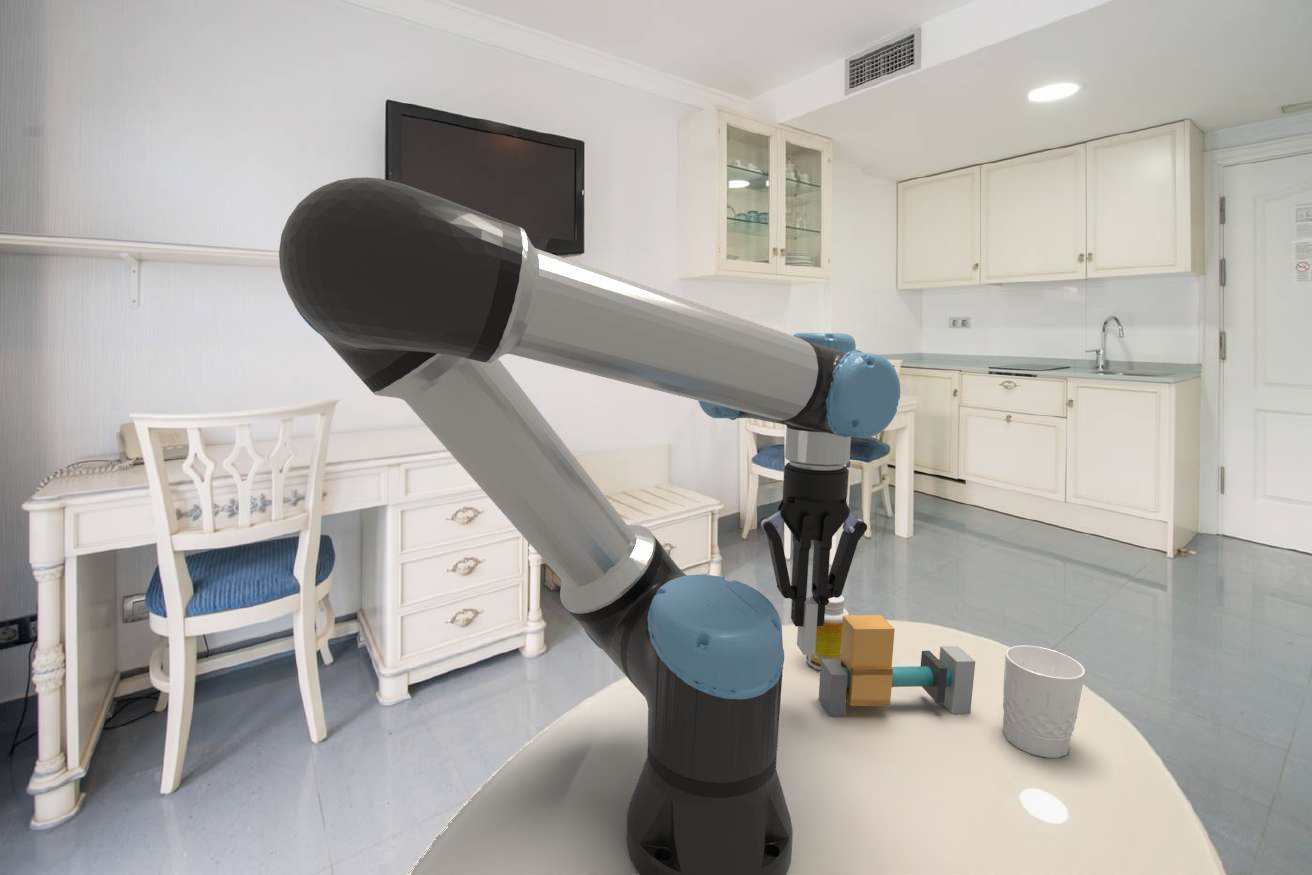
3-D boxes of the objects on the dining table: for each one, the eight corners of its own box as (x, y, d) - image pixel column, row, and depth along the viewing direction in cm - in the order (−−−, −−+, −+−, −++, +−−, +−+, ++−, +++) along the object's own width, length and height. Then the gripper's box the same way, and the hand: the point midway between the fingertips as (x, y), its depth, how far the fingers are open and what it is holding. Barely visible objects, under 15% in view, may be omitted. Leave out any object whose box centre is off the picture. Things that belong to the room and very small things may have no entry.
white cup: (1087, 766, 71) (1098, 682, 69) (1009, 756, 72) (1019, 673, 71) (1058, 725, 78) (1067, 649, 77) (988, 717, 80) (996, 641, 78)
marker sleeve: (850, 705, 79) (856, 630, 77) (837, 685, 84) (841, 614, 82) (890, 705, 79) (896, 630, 78) (874, 684, 84) (879, 613, 82)
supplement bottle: (853, 672, 90) (857, 603, 89) (816, 675, 89) (821, 605, 88) (834, 653, 96) (838, 588, 94) (799, 656, 94) (803, 590, 93)
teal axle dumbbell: (829, 717, 79) (833, 664, 78) (817, 697, 83) (821, 646, 82) (971, 714, 80) (976, 662, 79) (952, 694, 85) (956, 645, 84)
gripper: (857, 458, 81) (845, 635, 84) (755, 457, 80) (747, 636, 83) (882, 470, 73) (868, 663, 77) (770, 469, 72) (761, 665, 76)
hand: (805, 649), depth 80 cm, fingers closed
